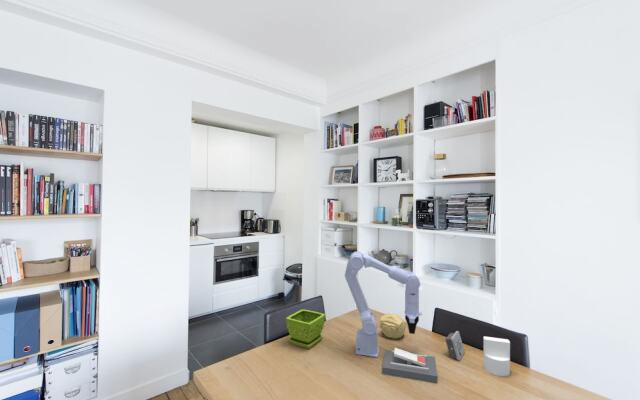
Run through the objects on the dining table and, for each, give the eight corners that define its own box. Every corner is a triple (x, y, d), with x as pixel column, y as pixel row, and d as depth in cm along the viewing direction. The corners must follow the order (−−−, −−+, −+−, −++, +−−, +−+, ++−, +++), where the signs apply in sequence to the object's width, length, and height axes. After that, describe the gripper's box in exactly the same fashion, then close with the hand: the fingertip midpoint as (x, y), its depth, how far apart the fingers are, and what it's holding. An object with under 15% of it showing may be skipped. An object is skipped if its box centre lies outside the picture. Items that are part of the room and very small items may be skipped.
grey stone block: (459, 362, 123) (457, 339, 124) (446, 359, 126) (444, 336, 127) (465, 352, 131) (462, 331, 131) (452, 350, 134) (450, 329, 134)
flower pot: (326, 340, 143) (326, 313, 142) (309, 353, 131) (309, 324, 131) (302, 333, 150) (302, 308, 150) (284, 344, 138) (284, 317, 138)
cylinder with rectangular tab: (506, 365, 120) (506, 336, 120) (512, 378, 112) (512, 346, 112) (481, 361, 123) (481, 332, 123) (485, 373, 115) (485, 343, 115)
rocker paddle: (393, 355, 118) (394, 353, 118) (394, 349, 123) (394, 346, 123) (424, 367, 115) (425, 364, 115) (424, 360, 120) (424, 357, 119)
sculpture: (377, 337, 145) (377, 315, 145) (386, 328, 155) (386, 307, 155) (400, 343, 139) (400, 320, 139) (408, 334, 149) (408, 312, 149)
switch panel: (382, 373, 115) (382, 361, 115) (385, 355, 128) (385, 344, 128) (437, 383, 109) (437, 370, 109) (434, 362, 123) (434, 351, 123)
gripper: (422, 308, 121) (422, 342, 121) (421, 297, 135) (421, 327, 135) (404, 307, 123) (404, 339, 123) (405, 295, 137) (405, 325, 137)
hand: (411, 333), depth 129 cm, fingers closed
